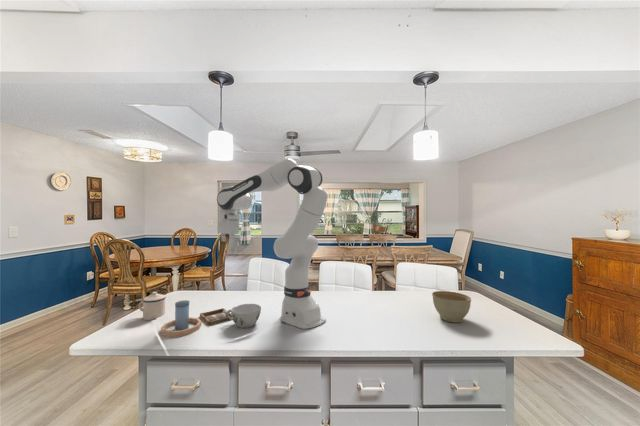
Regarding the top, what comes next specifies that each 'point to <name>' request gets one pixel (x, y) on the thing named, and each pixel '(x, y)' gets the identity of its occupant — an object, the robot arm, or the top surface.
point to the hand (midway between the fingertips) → (227, 242)
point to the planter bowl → (451, 305)
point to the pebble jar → (181, 315)
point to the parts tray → (207, 315)
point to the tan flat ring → (180, 332)
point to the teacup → (245, 315)
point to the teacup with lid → (153, 306)
